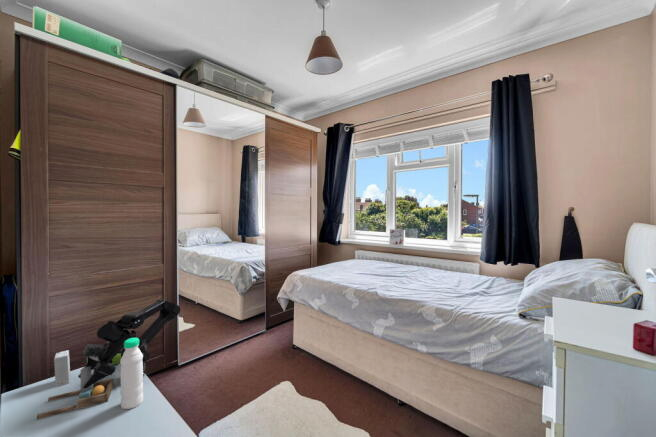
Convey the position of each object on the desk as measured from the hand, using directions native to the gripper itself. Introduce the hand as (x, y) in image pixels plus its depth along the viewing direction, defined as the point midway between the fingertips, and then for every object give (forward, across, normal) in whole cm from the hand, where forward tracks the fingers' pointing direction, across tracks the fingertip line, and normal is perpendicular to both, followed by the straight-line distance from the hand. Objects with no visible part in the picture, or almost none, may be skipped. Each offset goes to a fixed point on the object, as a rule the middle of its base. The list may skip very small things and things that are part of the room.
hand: (81, 382), depth 107 cm
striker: (+4, 0, +6) cm, 7 cm away
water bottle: (-4, +16, +14) cm, 22 cm away
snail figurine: (-6, -20, +16) cm, 26 cm away
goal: (+6, -1, +4) cm, 7 cm away
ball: (0, +1, +7) cm, 7 cm away
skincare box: (+7, -21, +3) cm, 23 cm away
